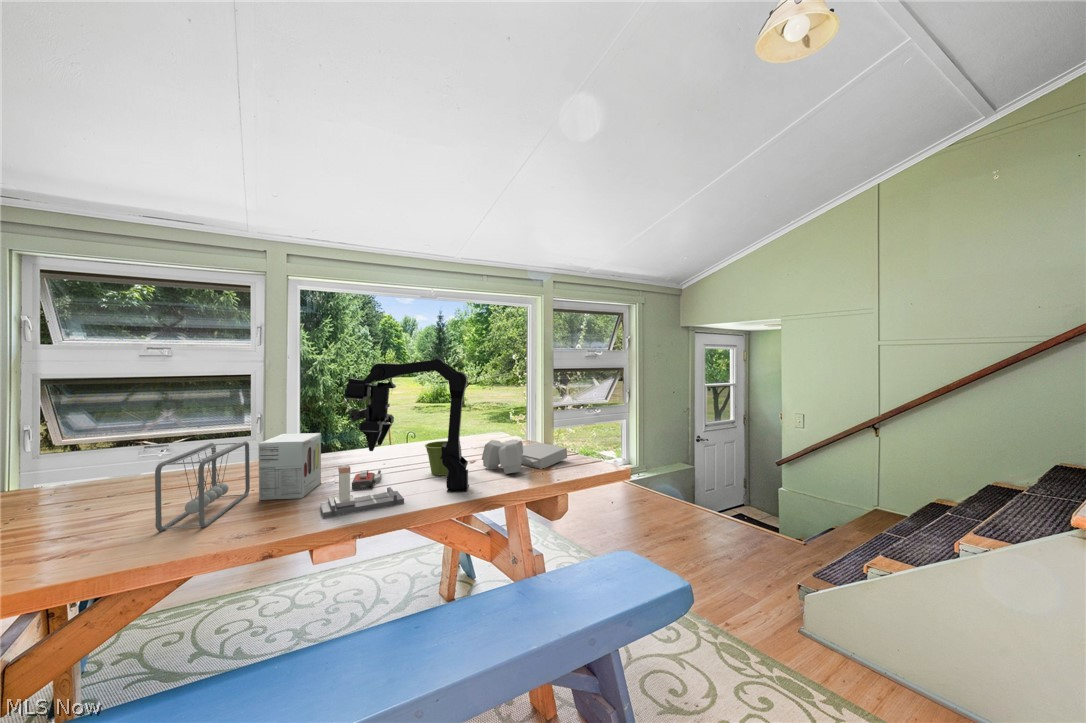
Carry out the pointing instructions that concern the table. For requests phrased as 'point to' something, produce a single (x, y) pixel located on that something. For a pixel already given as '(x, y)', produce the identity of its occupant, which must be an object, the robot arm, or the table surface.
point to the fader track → (362, 503)
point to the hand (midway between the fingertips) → (375, 448)
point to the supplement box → (289, 465)
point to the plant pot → (436, 458)
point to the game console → (521, 455)
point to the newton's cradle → (202, 484)
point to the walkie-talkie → (365, 480)
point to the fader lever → (344, 488)
